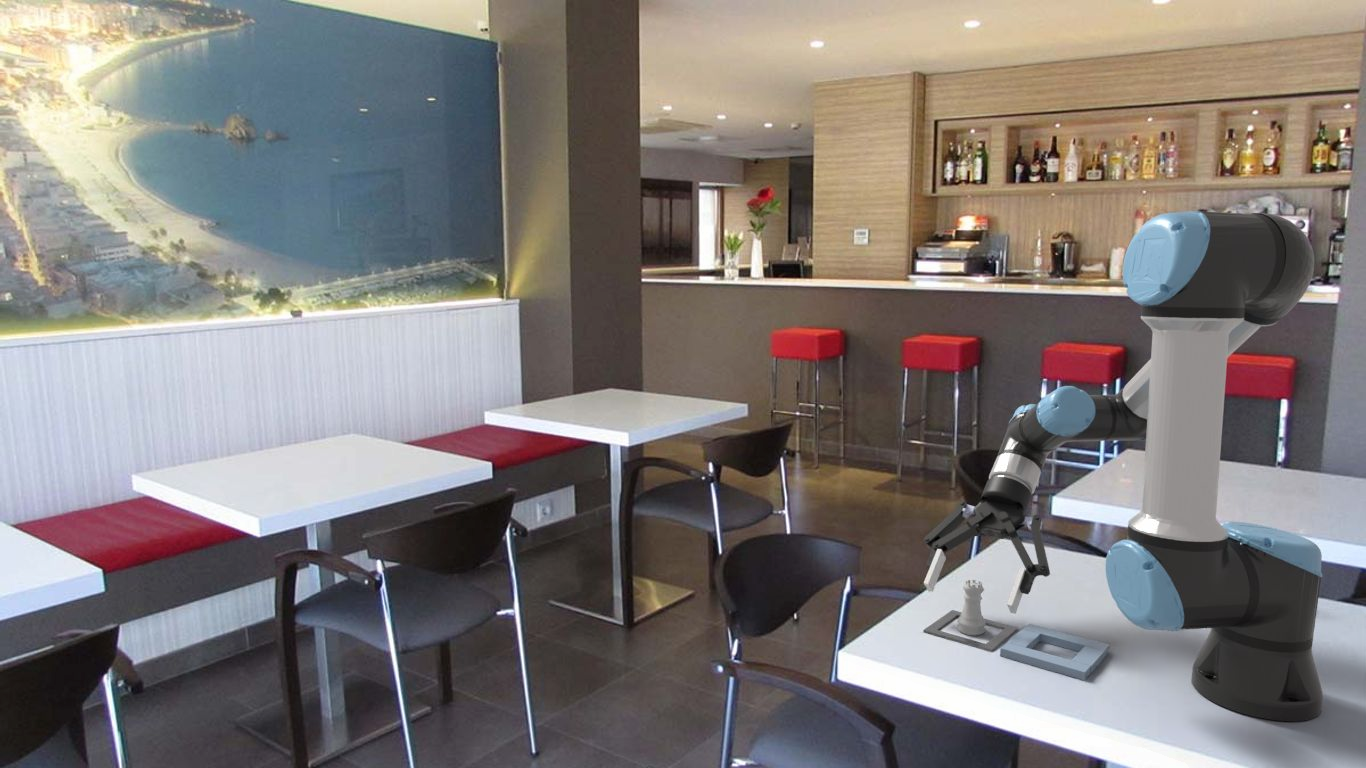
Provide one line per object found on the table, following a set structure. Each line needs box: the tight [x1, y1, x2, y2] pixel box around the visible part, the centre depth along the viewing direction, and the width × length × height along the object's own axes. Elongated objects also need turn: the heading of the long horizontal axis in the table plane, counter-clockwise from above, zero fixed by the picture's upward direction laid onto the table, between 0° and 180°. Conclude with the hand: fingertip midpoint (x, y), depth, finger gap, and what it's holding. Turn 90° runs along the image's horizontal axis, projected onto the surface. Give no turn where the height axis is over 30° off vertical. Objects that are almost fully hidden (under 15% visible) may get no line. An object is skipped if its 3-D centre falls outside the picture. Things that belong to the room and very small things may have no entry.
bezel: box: [922, 609, 1019, 652], centre depth 146 cm, size 11×11×1 cm
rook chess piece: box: [956, 579, 986, 637], centre depth 145 cm, size 4×4×8 cm
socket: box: [999, 623, 1110, 681], centre depth 138 cm, size 12×12×1 cm
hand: (968, 598), depth 145 cm, fingers open, 13 cm apart
